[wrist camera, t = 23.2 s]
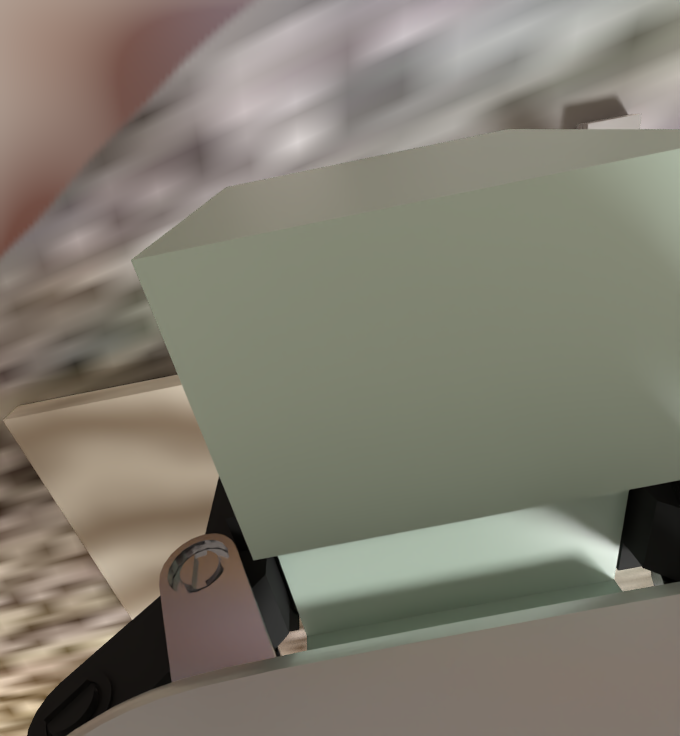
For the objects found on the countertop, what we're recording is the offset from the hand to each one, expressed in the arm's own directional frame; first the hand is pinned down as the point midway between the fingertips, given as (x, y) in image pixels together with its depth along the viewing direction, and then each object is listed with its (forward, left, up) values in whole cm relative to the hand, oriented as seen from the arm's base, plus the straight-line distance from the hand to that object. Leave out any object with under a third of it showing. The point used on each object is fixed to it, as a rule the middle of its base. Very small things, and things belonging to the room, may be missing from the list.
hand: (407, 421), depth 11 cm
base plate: (-14, +14, -15) cm, 25 cm away
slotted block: (0, 0, -1) cm, 1 cm away
